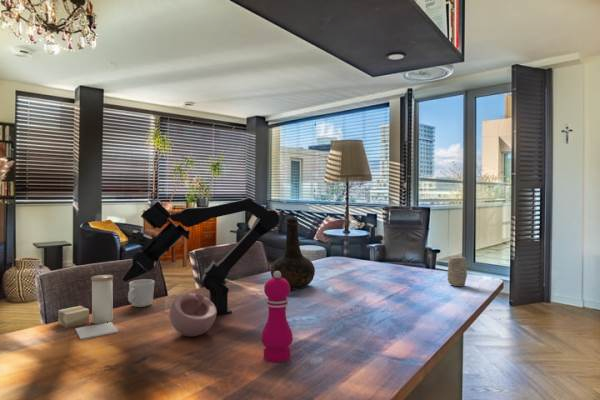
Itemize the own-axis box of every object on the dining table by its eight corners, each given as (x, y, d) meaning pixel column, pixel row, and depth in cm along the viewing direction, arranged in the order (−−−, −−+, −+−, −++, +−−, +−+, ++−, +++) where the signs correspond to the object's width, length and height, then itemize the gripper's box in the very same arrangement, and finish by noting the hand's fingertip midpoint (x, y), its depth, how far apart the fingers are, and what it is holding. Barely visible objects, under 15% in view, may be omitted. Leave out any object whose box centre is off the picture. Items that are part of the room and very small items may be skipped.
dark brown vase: (317, 282, 164) (317, 217, 164) (311, 293, 147) (311, 219, 146) (276, 280, 167) (276, 216, 167) (265, 291, 150) (265, 219, 149)
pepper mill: (261, 351, 93) (261, 268, 92) (291, 350, 93) (291, 267, 93) (261, 364, 86) (261, 274, 85) (293, 363, 86) (294, 273, 86)
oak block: (89, 323, 113) (88, 309, 113) (66, 328, 108) (66, 314, 108) (80, 318, 117) (80, 305, 116) (58, 323, 112) (58, 310, 112)
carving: (469, 287, 157) (469, 258, 157) (450, 287, 157) (451, 257, 157) (463, 283, 163) (463, 255, 163) (445, 283, 163) (445, 255, 163)
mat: (118, 332, 105) (118, 330, 105) (80, 339, 99) (80, 338, 99) (111, 323, 112) (111, 321, 112) (75, 329, 106) (75, 328, 106)
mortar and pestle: (191, 347, 95) (191, 300, 95) (159, 337, 101) (159, 293, 101) (225, 332, 105) (225, 290, 105) (194, 324, 111) (194, 284, 111)
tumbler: (115, 321, 114) (115, 277, 113) (93, 325, 110) (93, 279, 110) (111, 316, 118) (110, 273, 118) (89, 320, 115) (89, 276, 114)
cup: (140, 312, 123) (140, 287, 123) (118, 310, 124) (118, 285, 124) (159, 302, 133) (159, 279, 133) (138, 301, 135) (138, 278, 135)
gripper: (149, 219, 126) (112, 254, 123) (141, 223, 108) (97, 264, 105) (174, 242, 128) (139, 277, 125) (170, 250, 110) (129, 291, 107)
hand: (126, 277), depth 116 cm, fingers open, 9 cm apart
